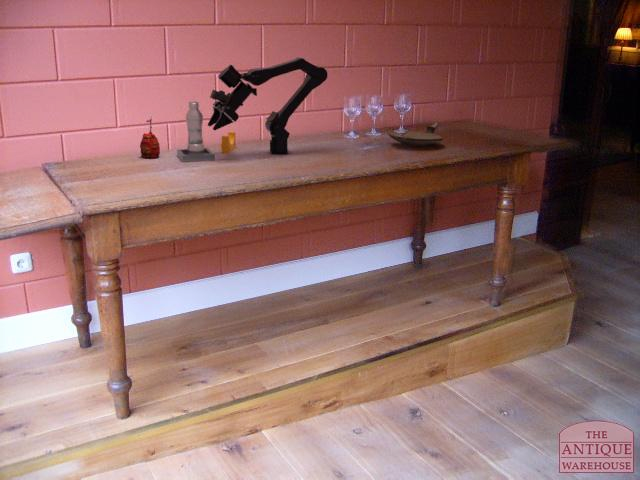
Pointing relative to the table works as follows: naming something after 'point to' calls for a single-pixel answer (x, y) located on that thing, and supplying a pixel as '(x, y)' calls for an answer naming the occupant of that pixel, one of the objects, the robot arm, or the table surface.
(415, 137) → the oil lamp
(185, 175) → the table surface
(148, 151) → the red clay folk toy
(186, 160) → the tray
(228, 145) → the orange stepped block
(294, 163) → the table surface
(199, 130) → the plastic bottle
